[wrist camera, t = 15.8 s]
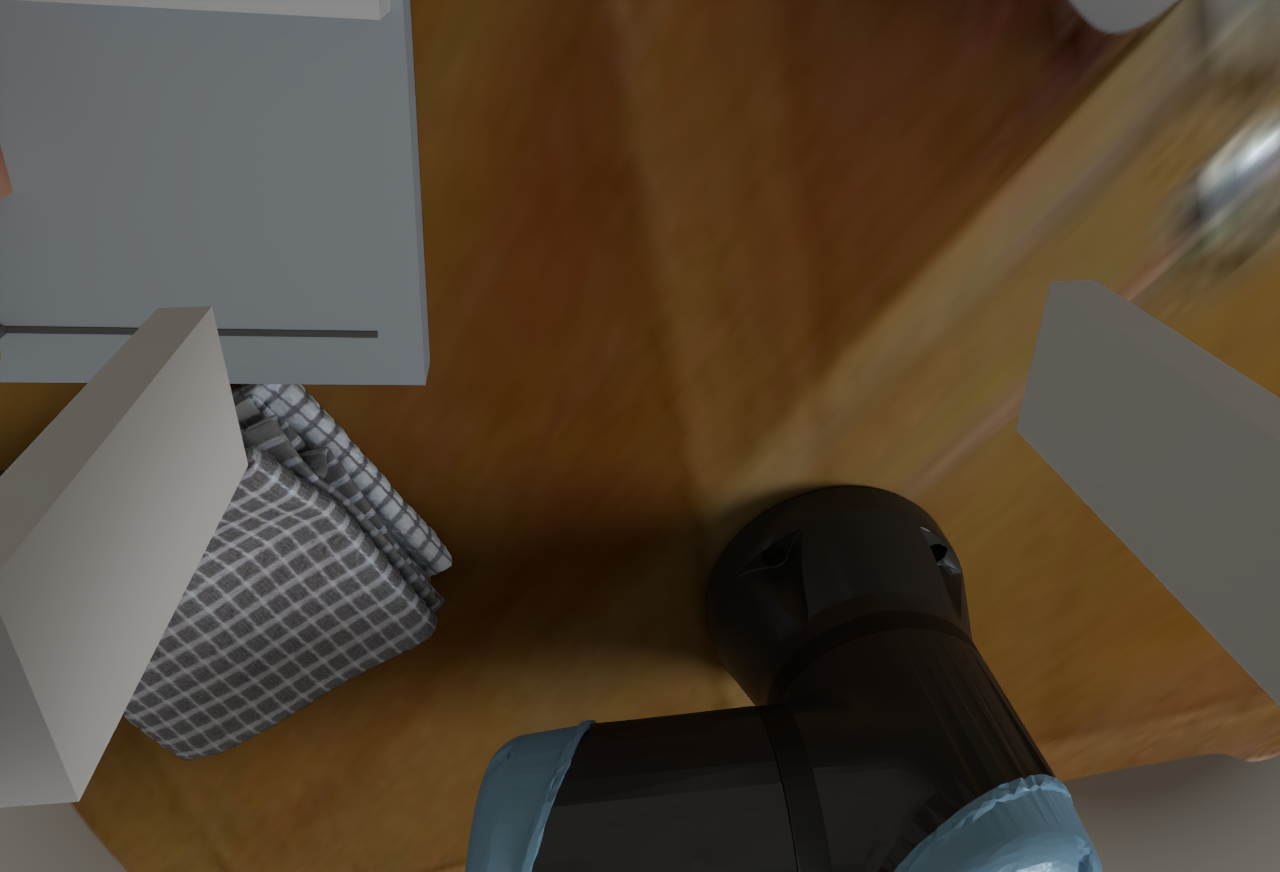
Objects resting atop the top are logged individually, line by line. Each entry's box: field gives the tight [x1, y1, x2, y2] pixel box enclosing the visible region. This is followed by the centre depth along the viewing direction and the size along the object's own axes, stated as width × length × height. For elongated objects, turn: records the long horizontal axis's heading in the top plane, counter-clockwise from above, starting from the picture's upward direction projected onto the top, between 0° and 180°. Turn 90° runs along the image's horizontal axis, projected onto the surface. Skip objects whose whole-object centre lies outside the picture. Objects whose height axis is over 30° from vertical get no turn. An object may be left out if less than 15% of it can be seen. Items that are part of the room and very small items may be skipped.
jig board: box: [0, 0, 430, 385], centre depth 38 cm, size 18×26×6 cm
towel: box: [123, 384, 452, 761], centre depth 47 cm, size 15×18×8 cm
